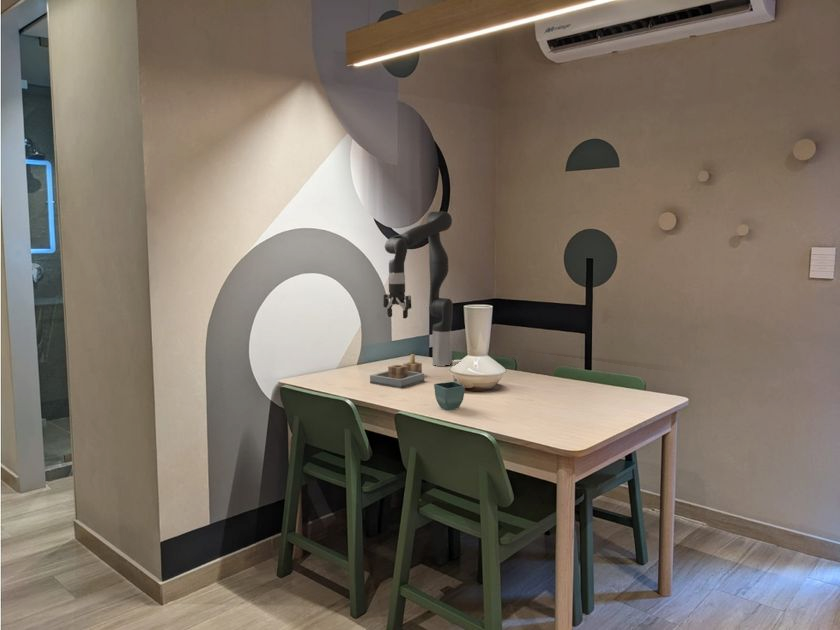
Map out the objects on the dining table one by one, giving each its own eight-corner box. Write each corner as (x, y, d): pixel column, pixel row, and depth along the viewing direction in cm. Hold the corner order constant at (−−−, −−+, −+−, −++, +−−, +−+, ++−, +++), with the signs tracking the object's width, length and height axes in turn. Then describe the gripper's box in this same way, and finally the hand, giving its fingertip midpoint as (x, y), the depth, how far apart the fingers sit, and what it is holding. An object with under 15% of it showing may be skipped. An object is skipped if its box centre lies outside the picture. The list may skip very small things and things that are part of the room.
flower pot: (465, 409, 254) (465, 385, 253) (445, 412, 250) (445, 388, 248) (453, 404, 261) (453, 381, 260) (433, 407, 257) (433, 383, 256)
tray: (394, 376, 311) (393, 369, 311) (424, 381, 302) (424, 373, 301) (370, 383, 298) (370, 375, 297) (401, 388, 288) (401, 380, 288)
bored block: (396, 377, 304) (396, 364, 303) (407, 379, 301) (407, 366, 300) (388, 380, 299) (388, 366, 298) (399, 381, 296) (399, 368, 295)
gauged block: (411, 374, 316) (411, 353, 315) (421, 375, 313) (421, 354, 312) (403, 376, 311) (403, 354, 310) (414, 378, 308) (413, 356, 307)
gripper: (414, 282, 310) (414, 317, 312) (389, 280, 318) (390, 315, 320) (404, 283, 304) (405, 319, 306) (379, 282, 312) (380, 317, 314)
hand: (397, 317), depth 313 cm, fingers open, 8 cm apart
